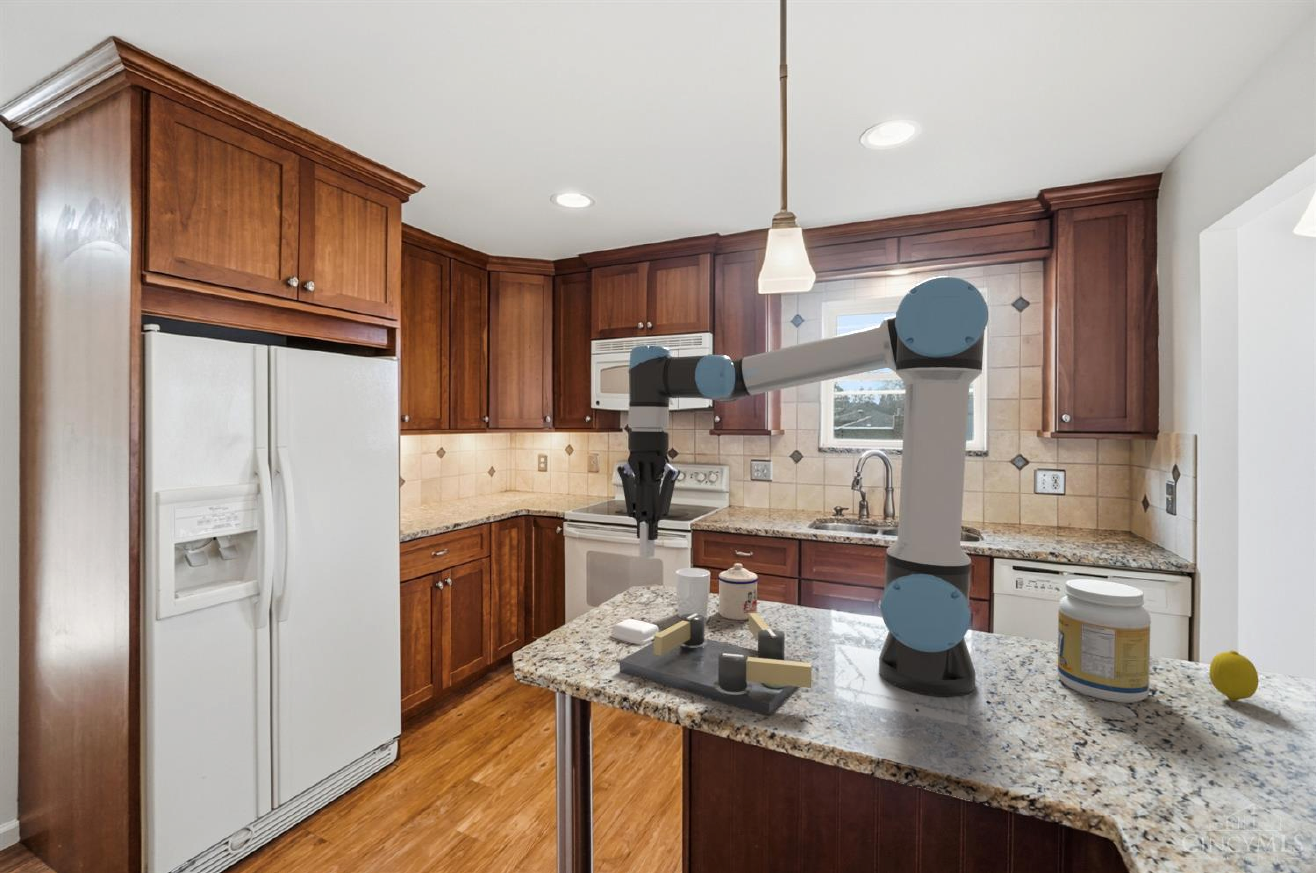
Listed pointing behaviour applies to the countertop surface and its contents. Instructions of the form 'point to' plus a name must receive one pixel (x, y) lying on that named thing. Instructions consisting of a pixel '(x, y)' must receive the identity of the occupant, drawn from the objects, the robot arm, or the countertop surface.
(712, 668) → the dark grey knob panel
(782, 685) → the green domed button
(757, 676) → the knob
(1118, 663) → the supplement tub
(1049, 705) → the countertop surface
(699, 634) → the knob
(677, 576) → the white cup
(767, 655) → the knob
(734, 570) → the teacup with lid
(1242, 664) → the lemon
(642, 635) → the soap
